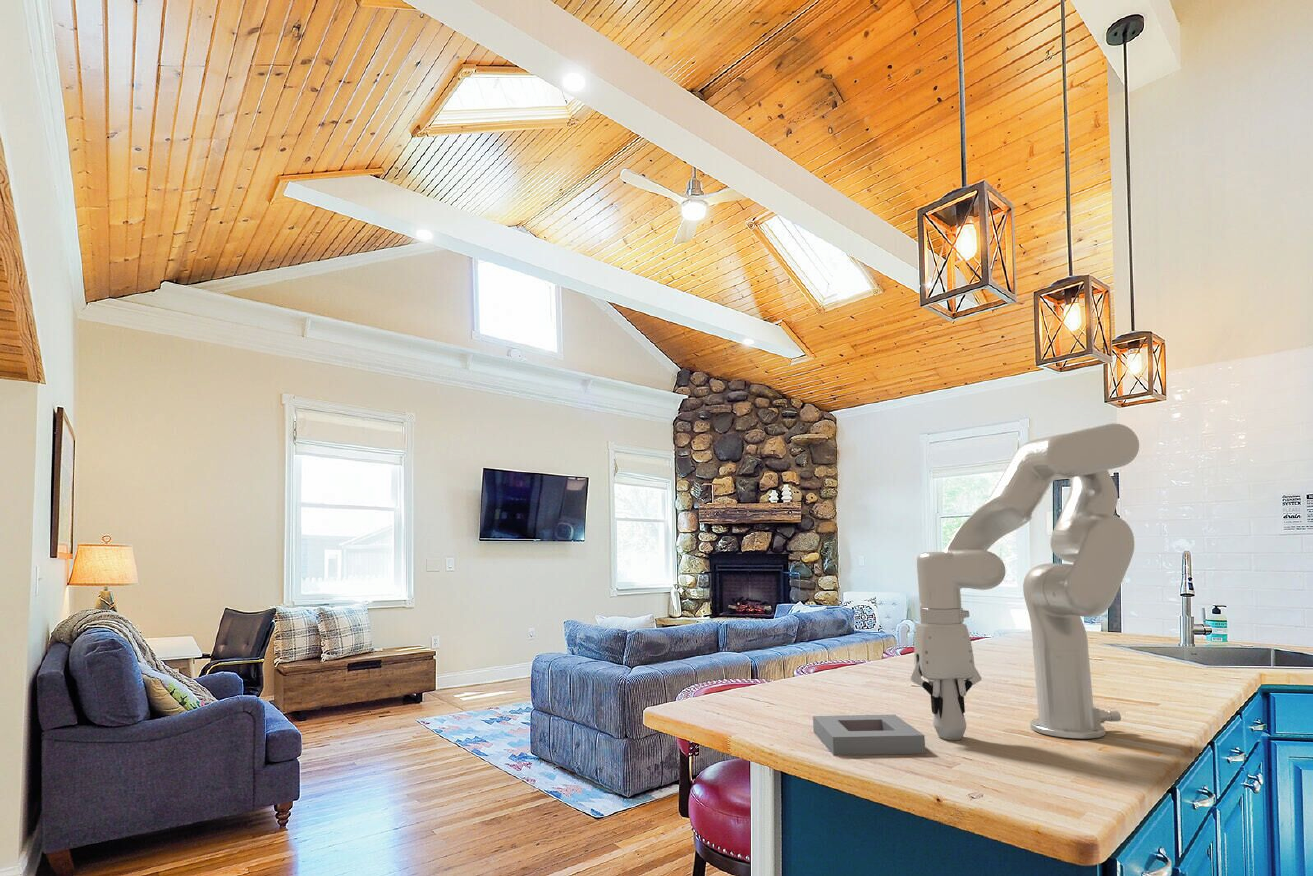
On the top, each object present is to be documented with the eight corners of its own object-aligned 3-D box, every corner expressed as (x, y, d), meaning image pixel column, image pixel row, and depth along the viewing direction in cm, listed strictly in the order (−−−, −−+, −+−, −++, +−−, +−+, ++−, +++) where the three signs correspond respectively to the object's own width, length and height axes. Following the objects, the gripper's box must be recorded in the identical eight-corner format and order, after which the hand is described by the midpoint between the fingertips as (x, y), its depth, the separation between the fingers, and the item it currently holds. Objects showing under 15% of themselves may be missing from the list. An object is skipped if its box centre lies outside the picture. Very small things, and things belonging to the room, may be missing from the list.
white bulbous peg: (969, 742, 138) (964, 668, 139) (936, 741, 139) (931, 668, 140) (963, 733, 143) (958, 663, 145) (931, 733, 144) (926, 663, 146)
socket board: (895, 730, 147) (894, 714, 147) (925, 753, 131) (924, 735, 131) (813, 732, 147) (812, 716, 147) (833, 755, 131) (832, 737, 131)
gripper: (975, 614, 148) (983, 712, 145) (892, 616, 148) (898, 714, 145) (992, 618, 140) (1001, 721, 138) (905, 620, 140) (912, 723, 138)
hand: (948, 716), depth 141 cm, fingers closed on white bulbous peg, 3 cm apart
